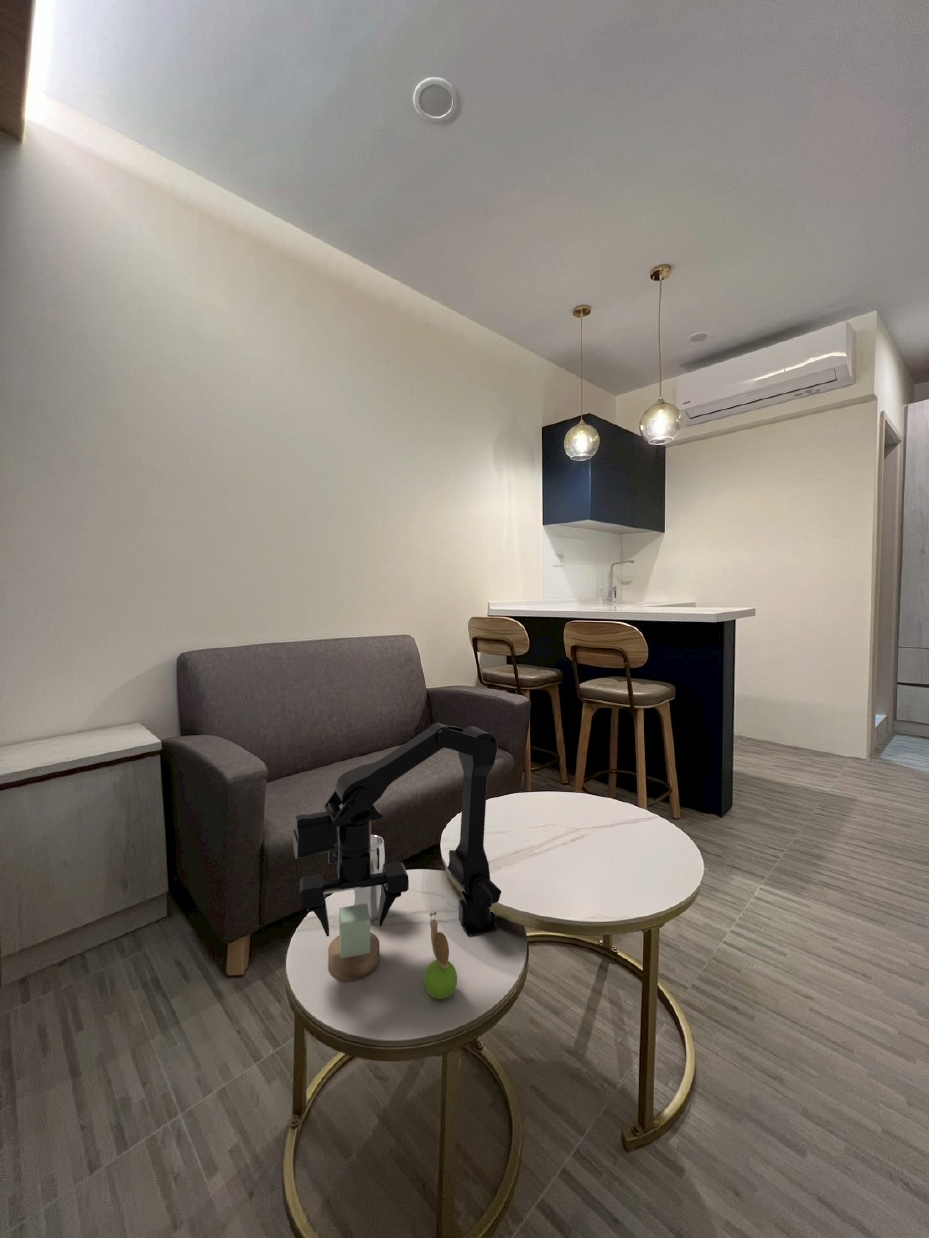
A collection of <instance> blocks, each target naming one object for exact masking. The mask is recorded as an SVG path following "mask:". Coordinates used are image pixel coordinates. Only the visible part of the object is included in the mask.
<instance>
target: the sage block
mask: <svg viewBox="0 0 929 1238" xmlns="http://www.w3.org/2000/svg"><path fill="white" fill-rule="evenodd" d="M338 909H339V914H338V915H339V917H338V920H339V921H338V922H339V926H338V927H339V928H338V929H339V930H338V931H339V932H338V933H339V934H338V936H339V942H340V953H341V959H342V958H347V957H352V956H357V955H362V954H367V953H370V932H371V921H370V916H369V911H368V906H367V903H366V904H360V905H354V904H353V905H349V906H343V907H339V908H338Z"/></svg>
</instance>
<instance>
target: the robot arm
mask: <svg viewBox="0 0 929 1238" xmlns="http://www.w3.org/2000/svg"><path fill="white" fill-rule="evenodd" d="M498 747H499V746H498V741H497V739H496V738H495V737H494V736H493V735H492V734H490V733H489V732H487V731H484V730H482V729H481V728H478V727H476V726H474V725H473V726H472V725H471V726H467V727H465V728H462V727H460V726H459V727H458V726H453V725H446V724H443V723H441V722H435V723H431V725H429V726H428V728H426V730H424V731H421V733H419V734H417V735H416V736H415V737H413V738H412V739H410V740H408V741H407V742H405V743H404V744H402V745H401V746H399V747H398V748H396V749H394V750H392V751H391V752H389V753H388V754H386V755H385V756H383V757H382V758H380V759H378V760H377V761H375V762H371V763H366V764H362V765H359V766H357V767H355V768H353V769H350V770H348V771H346V772H343V774H341V775H340V776H339V777H338V779H337V781H336V785H335V789H334V791H333V792H332V794H331V795H330V797H329V799H328V800H327V801H326V803H325V804H324V806H323V808H324V810H325V811H321V812H315V813H310V814H306V813H305V814H297V815H296V816H295V822H294V827H293V830H292V846H293V852H294V854H293V855H294V858H295V859H296V860H298V859H302V858H307V857H311V856H317V855H321V854H327V855H328V858H327V859H328V860H327V861H328V864H329V865H333V864H336V875H337V879H331V880H325V881H324V876H323V875H324V874H323V873H316V874H310V875H304V876H302V877H301V878H300V880H299V896H298V897H299V902H298V903H299V906H298V907H299V908H300V909H303V910H304V909H307V912H309V913H311V912H313V913H314V914H315V916H316V918H318V920H319V922H320V924H321V926H322V929H323V931H324V933H325V936H326V937H327V938H328V937H330V923H329V916H328V908H327V899H326V895H327V894H333V893H340V892H341V893H342V892H347V891H352V890H354V889H360V888H364V887H370V886H377V885H381V892H380V905H379V915H378V918H377V920H378V926H379V927H380V928H381V927H383V923H384V922H385V919H386V917H387V915H388V912H389V911H390V909H391V907H392V905H393V904H394V902H395V900H396V899H397V898H400V897H401V896H402V893H405V892H408V891H409V888H410V887H409V883H410V881H409V875H408V872H407V869H406V867H405V864H404V863H403V862H402V861H398V862H391V863H385V864H383V872H382V873H376V874H371V835H372V821H376V820H380V819H383V818H384V817H383V816H384V815H383V813H382V812H381V811H380V810H379V808H377V807H376V806H375V805H374V804H375V803H376V802H378V801H379V800H380V799H381V797H382V796H383V795H384V794H385V792H386V791H387V789H388V788H389V786H391V785H392V783H394V782H395V781H396V780H398V779H399V778H401V777H402V776H403V777H404V775H405V774H407V773H409V772H410V771H411V770H413V769H414V768H416V767H418V765H419V766H420V764H422V763H423V762H425V761H426V760H428V759H429V758H431V757H433V756H434V755H435V754H437V753H438V752H439V751H441V750H443V749H449V750H452V751H455V752H458V758H459V762H460V765H461V769H462V771H463V780H462V799H461V801H462V802H461V817H460V818H461V819H460V832H459V833H460V834H459V844H458V845H457V847H456V848H455V849H450V850H448V858H449V861H448V866H447V870H448V871H449V873H450V876H451V878H452V879H453V880H454V881H455V883H457V885H458V886H459V888H460V889H462V890H461V899H459V900H458V921H459V923H460V926H461V927H462V928H463V929H464V931H465V934H466V935H467V936H475V935H480V934H483V933H488V932H495V931H498V930H499V926H498V924H497V922H496V913H495V914H494V913H493V912H490V909H489V907H491V906H492V904H493V903H495V904H496V903H499V901H500V897H501V894H502V890H501V889H500V888H499V887H498V886H497V885H496V884H495V883H494V882H493V881H492V880H491V872H490V864H489V861H488V858H487V854H486V851H485V848H484V843H485V842H484V841H485V825H486V824H485V822H486V809H487V808H486V806H487V790H488V777H489V774H490V772H491V771H492V769H493V767H494V765H495V764H496V759H497V754H498ZM340 806H342V807H340ZM337 833H338V834H337Z"/></svg>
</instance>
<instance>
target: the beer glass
mask: <svg viewBox="0 0 929 1238" xmlns="http://www.w3.org/2000/svg"><path fill="white" fill-rule="evenodd" d="M385 857H386V855H385V841H384V838H383V837H382V836H379V835H376V834H371V874H376V873H382V872H383V864H386V860H385V859H386V858H385ZM353 892H354V903H353V906H354V905H360V904H366V903H367V906H368V911H369V916H370V922H371V921H373V920H376V919H378V915H379V905H380V895H381V885H377V886H370V887H364V888H360V889H354V891H353Z"/></svg>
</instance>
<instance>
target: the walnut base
mask: <svg viewBox="0 0 929 1238" xmlns="http://www.w3.org/2000/svg"><path fill="white" fill-rule="evenodd" d="M327 950H328V951H327V954H328V955H327V957H328V958H327V961H328V962H327V964H328V965H327V969H328V972H329V974H330V975H331V977H333V978H334V979H336V980H337V981H341V982H348V983H349V982H357V981H360V980H363V979H364V980H365V978H367V977H369V976H371V975H372V974H373V973H374V972H376V970H377V968H378V967H379V963H380V940H379V938H378V936H377V935H376V934H374V933H373V932H371V931H370V953H367V954H362V955H357V956H352V957H347V958H342V959H341V953H340V942H339V935H338V936H336V937H335V938H334V939H332V941H331V942H330V943H329V946H328V948H327Z"/></svg>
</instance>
